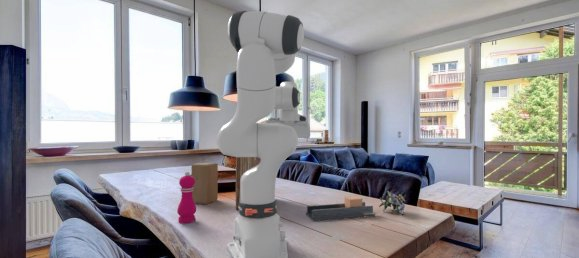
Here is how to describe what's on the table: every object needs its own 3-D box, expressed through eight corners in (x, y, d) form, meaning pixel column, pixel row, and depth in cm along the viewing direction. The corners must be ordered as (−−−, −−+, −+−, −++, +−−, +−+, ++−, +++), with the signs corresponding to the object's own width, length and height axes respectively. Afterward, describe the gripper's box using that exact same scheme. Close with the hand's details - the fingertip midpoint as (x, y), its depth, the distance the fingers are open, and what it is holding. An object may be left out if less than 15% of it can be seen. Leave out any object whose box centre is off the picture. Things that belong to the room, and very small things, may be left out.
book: (253, 211, 120) (254, 146, 121) (235, 210, 123) (235, 145, 123) (271, 198, 145) (271, 143, 145) (255, 197, 147) (255, 143, 148)
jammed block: (349, 213, 113) (349, 199, 113) (344, 210, 118) (344, 196, 118) (362, 212, 115) (362, 198, 115) (356, 209, 120) (356, 196, 120)
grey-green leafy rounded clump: (401, 226, 116) (406, 209, 109) (375, 219, 120) (379, 202, 113) (403, 207, 124) (408, 190, 117) (379, 200, 128) (382, 183, 121)
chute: (313, 221, 107) (313, 211, 107) (306, 214, 116) (306, 205, 116) (374, 216, 114) (374, 206, 114) (362, 209, 123) (362, 201, 123)
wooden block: (190, 203, 134) (190, 164, 134) (202, 198, 143) (202, 162, 144) (207, 204, 131) (207, 164, 131) (218, 200, 141) (218, 162, 141)
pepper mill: (190, 216, 112) (190, 170, 112) (199, 220, 107) (200, 171, 108) (173, 221, 106) (174, 171, 107) (183, 225, 102) (183, 173, 102)
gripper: (267, 117, 115) (266, 148, 114) (311, 117, 120) (311, 148, 119) (264, 117, 121) (264, 147, 120) (307, 118, 126) (307, 147, 126)
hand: (288, 148), depth 120 cm, fingers closed
